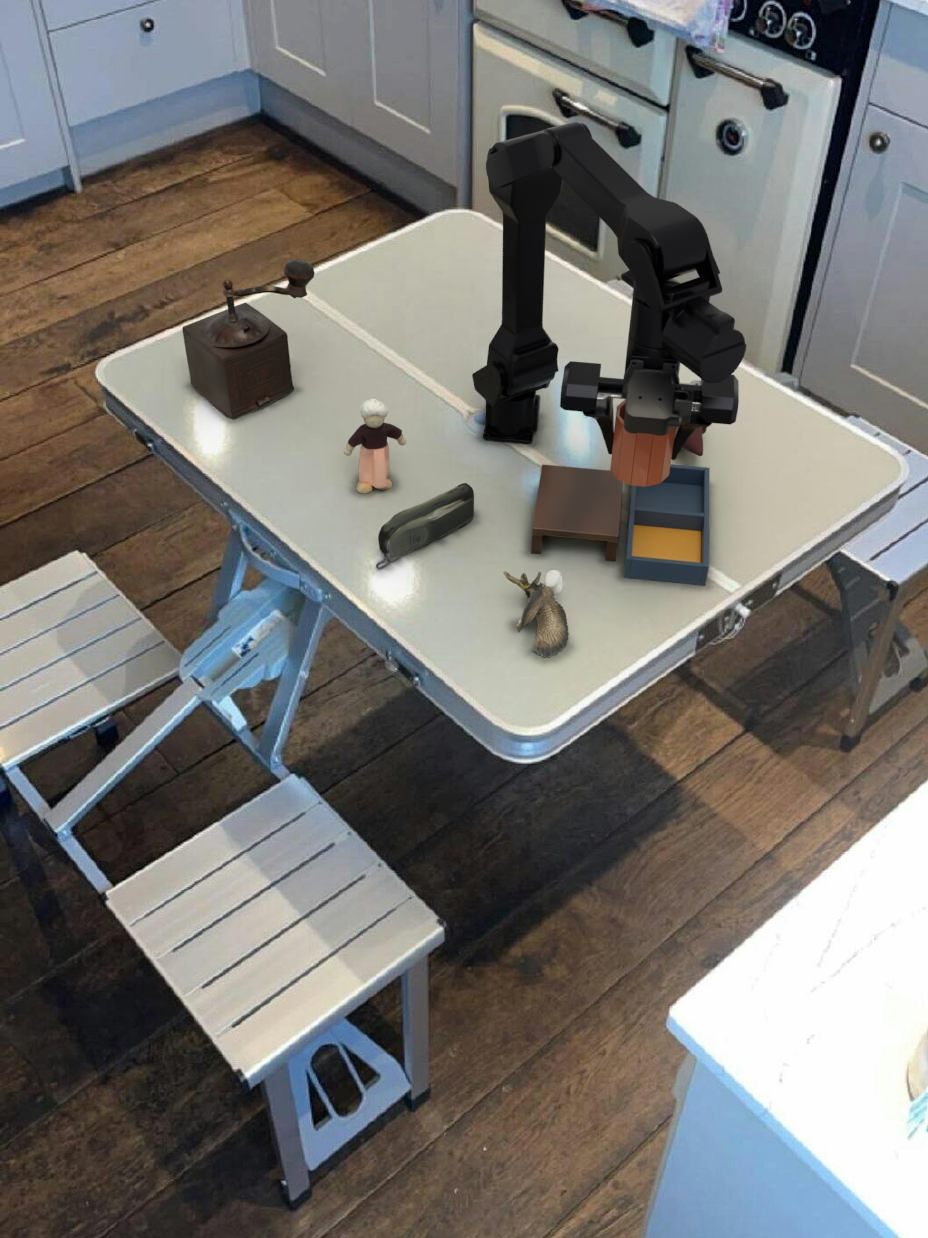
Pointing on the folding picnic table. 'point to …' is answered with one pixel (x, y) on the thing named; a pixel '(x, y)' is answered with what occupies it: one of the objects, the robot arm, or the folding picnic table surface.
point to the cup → (640, 454)
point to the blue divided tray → (670, 528)
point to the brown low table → (577, 506)
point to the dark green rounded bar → (425, 522)
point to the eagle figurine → (544, 612)
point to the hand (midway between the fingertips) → (641, 455)
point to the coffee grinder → (243, 349)
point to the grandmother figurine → (374, 446)
